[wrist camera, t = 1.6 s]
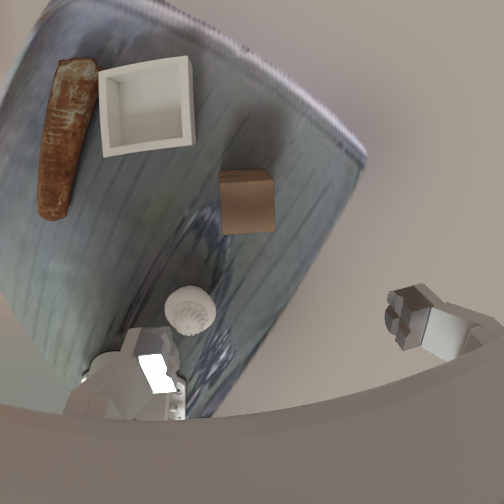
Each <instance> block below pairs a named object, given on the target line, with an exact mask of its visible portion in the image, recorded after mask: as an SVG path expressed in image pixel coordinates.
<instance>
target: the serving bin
mask: <svg viewBox="0 0 504 504" xmlns="http://www.w3.org/2000/svg"><path fill="white" fill-rule="evenodd" d="M98 73H99V109H100V125H101V138H102V149H103V158H104V157H110V156H115V155H121V154H127V153H134V152H141V151H148V150H155V149H163V148H171V147H180V146H190V145H194V144H196V131H195V114H194V93H193V68H192V64H191V62H190V60H189V57H188V55H187V56H179V57H171V58H164V59H157V60H151V61H146V62H140V63H135V64H130V65H125V66H121V67H116V68H112V69H108V70H104V71H100V72H98Z"/></svg>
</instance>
